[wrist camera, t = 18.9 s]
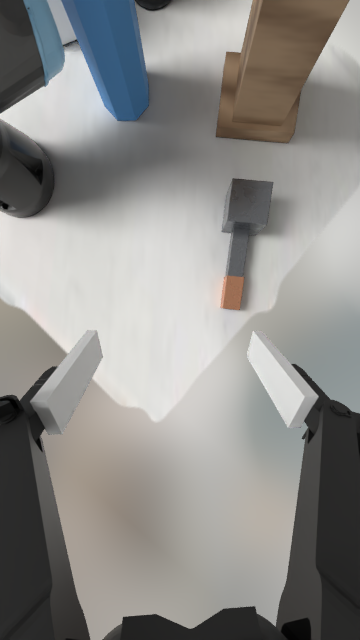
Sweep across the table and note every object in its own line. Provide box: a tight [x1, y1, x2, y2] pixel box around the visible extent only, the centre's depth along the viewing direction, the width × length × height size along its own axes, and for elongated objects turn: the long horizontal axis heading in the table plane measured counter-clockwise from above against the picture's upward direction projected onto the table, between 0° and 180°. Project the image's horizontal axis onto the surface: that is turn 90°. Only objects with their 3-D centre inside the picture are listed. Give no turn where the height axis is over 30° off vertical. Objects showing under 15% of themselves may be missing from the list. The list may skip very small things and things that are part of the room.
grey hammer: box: [220, 178, 273, 310], centre depth 34 cm, size 22×7×5 cm, turn 174°
